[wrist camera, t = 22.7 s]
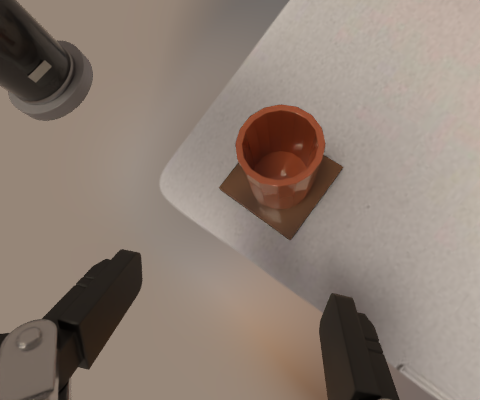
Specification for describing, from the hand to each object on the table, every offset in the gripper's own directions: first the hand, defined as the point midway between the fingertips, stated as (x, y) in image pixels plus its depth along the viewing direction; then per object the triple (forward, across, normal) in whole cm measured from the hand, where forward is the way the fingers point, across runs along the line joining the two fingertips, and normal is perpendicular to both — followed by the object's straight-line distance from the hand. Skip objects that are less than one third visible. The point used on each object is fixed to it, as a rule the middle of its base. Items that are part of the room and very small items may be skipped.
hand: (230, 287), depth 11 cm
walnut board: (+18, -2, +2) cm, 18 cm away
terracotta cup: (+17, -2, +2) cm, 18 cm away
